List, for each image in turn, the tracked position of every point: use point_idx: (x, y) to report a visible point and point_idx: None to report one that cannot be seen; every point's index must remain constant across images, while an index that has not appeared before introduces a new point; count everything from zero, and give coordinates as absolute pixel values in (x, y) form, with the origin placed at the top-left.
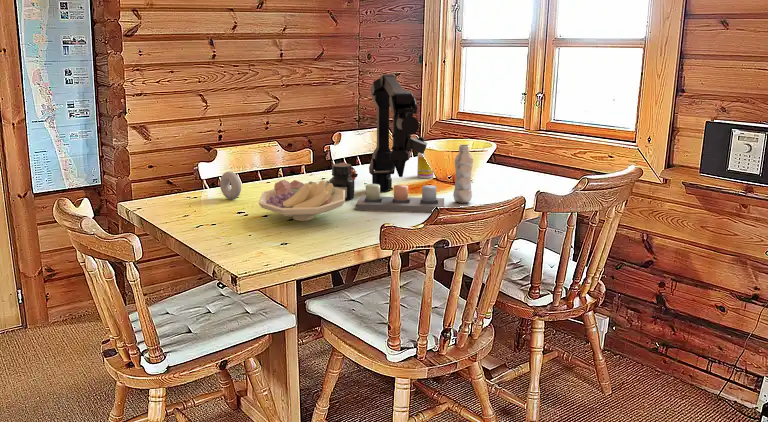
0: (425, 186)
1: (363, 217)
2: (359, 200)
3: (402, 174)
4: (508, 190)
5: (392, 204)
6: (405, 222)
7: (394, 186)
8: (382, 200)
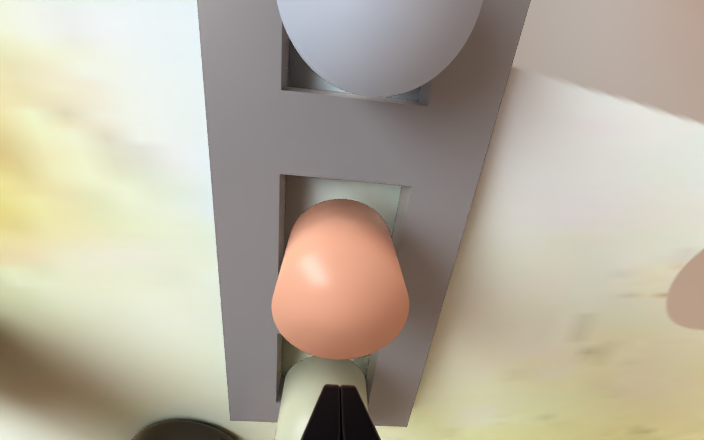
0: (356, 47)
1: (532, 370)
2: None
3: (367, 416)
4: None
5: (427, 284)
6: (693, 201)
7: (357, 355)
8: None
